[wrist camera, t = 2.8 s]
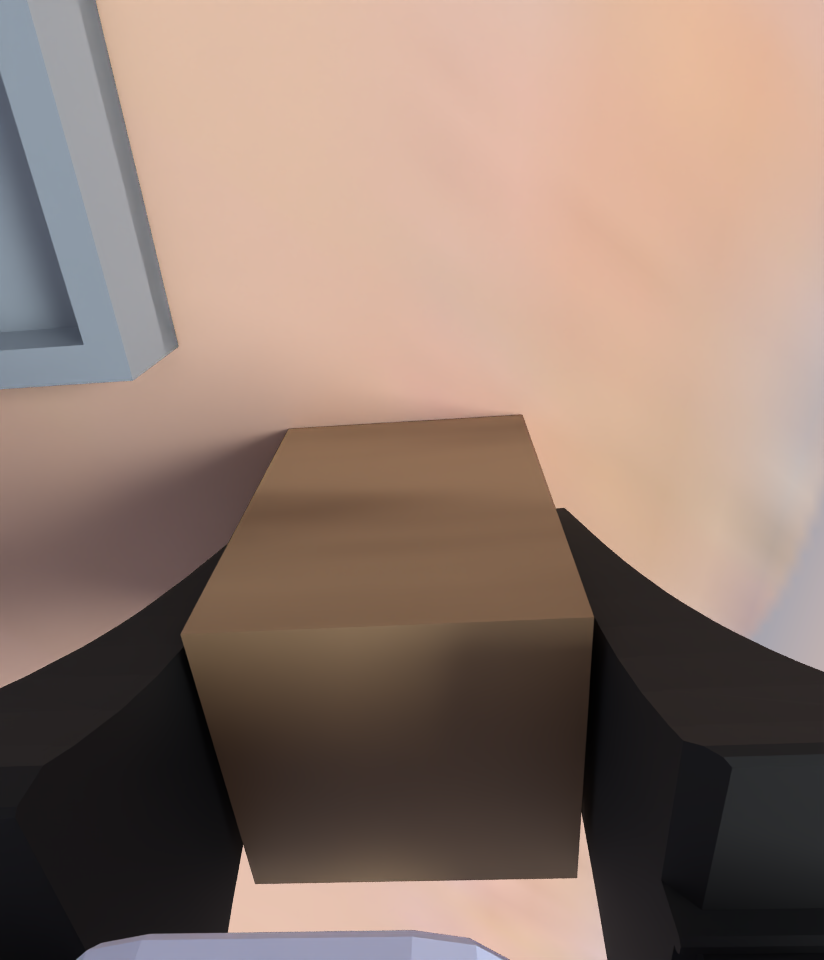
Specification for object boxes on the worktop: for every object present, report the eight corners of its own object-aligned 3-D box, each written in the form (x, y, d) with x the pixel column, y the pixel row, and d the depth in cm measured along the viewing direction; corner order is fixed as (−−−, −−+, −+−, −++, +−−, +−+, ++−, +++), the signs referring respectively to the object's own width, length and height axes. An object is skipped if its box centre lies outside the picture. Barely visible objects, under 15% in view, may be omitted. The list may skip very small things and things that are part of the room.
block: (521, 605, 14) (577, 878, 9) (320, 614, 14) (255, 883, 9) (522, 414, 12) (593, 617, 7) (288, 428, 12) (180, 634, 7)
